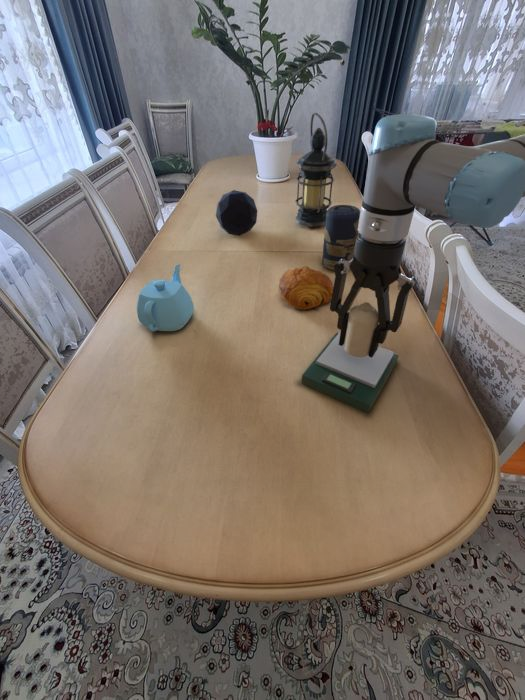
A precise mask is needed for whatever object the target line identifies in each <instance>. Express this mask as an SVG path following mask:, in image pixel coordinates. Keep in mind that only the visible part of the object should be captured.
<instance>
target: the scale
mask: <svg viewBox="0 0 525 700" xmlns="http://www.w3.org/2000/svg"><path fill="white" fill-rule="evenodd" d="M340 333H341V332H336V333H335V334H334V335H333V337H332V338H331V339H330V340H329V342H328V343H327V344H326V345H325V346H324V347H323V349H322V350H321V351H320V352H319V354H318V355H317V356H316V357H315V358H314V359H313V361H312V362H311V364H310V365H309V366H308V367H307V368H306V369H305V371H304V372H303V374H301V384H302V385H305V386H307V387H309V388H311V389H313V390H315V391H317V392H320V393H322V394H324V395H326V396H329V397H331V398H333V399H335V400H337V401H340V402H342V403H344V404H347V405H349V406H351V407H353V408H355V409H357V410H359V411H361V412H364V413H366V414H369V412H370V410H371V409H372V407H373V405H374V404H375V402H376V400H377V398H378V397H379V395H380V393H381V391H382V389H383V388H384V386H385V384H386V382H387V380H388V378H389V377H390V375H391V373H392V372H393V369H395V366H396V364H397V362H398V360H399V359H398V358H399V354H397V353H395V352H394V351H391V350H388V349H386V348H384V347H381V346H378V348H377V351H376V352H375V354H374V356H373V357H372V358H371V357H369V355H368V356H365V357H355V356H352V355H350V354H348V353H347V352H346V351H345V350H344V344H343V346H340V345H339V339H340Z"/></svg>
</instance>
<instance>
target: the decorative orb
mask: <svg viewBox="0 0 525 700" xmlns="http://www.w3.org/2000/svg"><path fill="white" fill-rule="evenodd" d="M256 205H257V204H256V202H255V199H254V198H253V197H252V196H250V195H249V194H248V193H247V192H245V191H241V190H235V189H232V190H231V191H228V192H226V193H223V195H221V197H220V199H219V201H218V202H217V204H216V211H215V212H216V213H215V217H216V219H217V222H218V224H219V226H220V228H221V229H222V230H224V231H225V232H226V233H227V234H228V235H234V236H238V237H240V236H242V235H244V234H247V233H249V232H250V231H251V230H252V229H253V228H254V226H255V225H256V224H257V220H258V208H257V206H256Z"/></svg>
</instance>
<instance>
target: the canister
mask: <svg viewBox="0 0 525 700" xmlns="http://www.w3.org/2000/svg"><path fill="white" fill-rule="evenodd" d="M326 210H327V214H326V223H325V224H324V225H325V227H324V237H323V246H322V259H321V263H322V265H323V266H324V267H325V268H327V269H328V270H331V271H334V265H335V264H336V263H337V262H338V261H339V260H340V259H345V261H351V260H352V258H353V255H354V248H355V242H356V236H357V234H358V233H359V232H358V225H359V218H360V212H361V209H360V208H359V207H356V206H355V205H351V204H336V205H333V206H332V205H331V206H329V208H327V209H326Z"/></svg>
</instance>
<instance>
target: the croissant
mask: <svg viewBox="0 0 525 700" xmlns="http://www.w3.org/2000/svg"><path fill="white" fill-rule="evenodd" d="M333 287H334V282H333V280H332V279H331V278H330V277H329V276H328V275H327V274H325V273H323V272H322V271H320V270H317V269H313V268H310V267H309V266H301V267H293V268H291V269H288V270H286V271H284V272H283V274H282V275H281V276H280V277H279V283H278V289H279V291H280V294H281V296H282V298H283V299H284V301H285V302H286V303H287V304H288V305H289V306H290V307H292V308H295V309H298V310H308V309H312V308H317V307H318V306H322V305H325V304H327V303H328V302H330V301H331V298H332V293H333Z"/></svg>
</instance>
